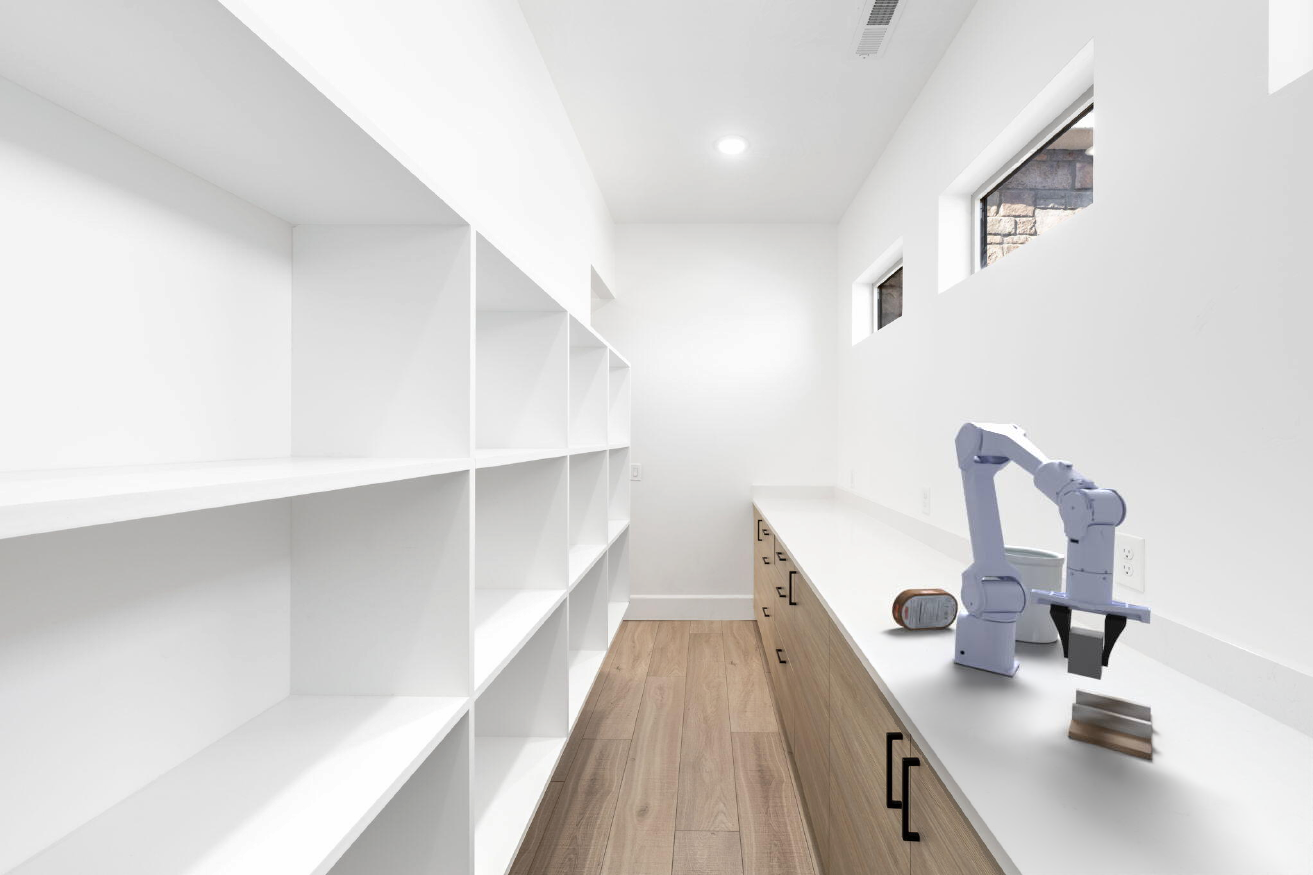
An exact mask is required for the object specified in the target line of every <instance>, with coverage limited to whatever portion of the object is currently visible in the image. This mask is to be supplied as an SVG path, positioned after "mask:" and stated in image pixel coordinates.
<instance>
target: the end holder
mask: <svg viewBox="0 0 1313 875" xmlns="http://www.w3.org/2000/svg"><path fill="white" fill-rule="evenodd" d="M1075 690H1076V691H1075V702H1072V704H1071V705H1072V706H1071V720H1070V724H1069V728H1068V733H1067V734H1068V736H1067V737H1068V738H1071V739H1074V740H1078V741H1081V742H1082V741H1083V742H1086V743H1089V744H1093V745H1096V746H1099V747H1103V748H1107V749H1110V750H1115V751H1118V752H1121V753H1125V754H1129V755H1132V756H1137V757H1139V758H1143V759H1146V760H1150V761H1152V726H1153V725H1152V721H1151V717H1152V716H1151V712H1152V711H1151V710H1152V705H1151V704H1146V703H1142V702H1137V701H1132V700H1129V699H1125V698H1121V697H1116V696H1113V695H1109V694H1103V693H1100V692H1095V691H1091V690H1086V689H1083V688H1078V687H1077V688H1076V689H1075Z"/></svg>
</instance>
